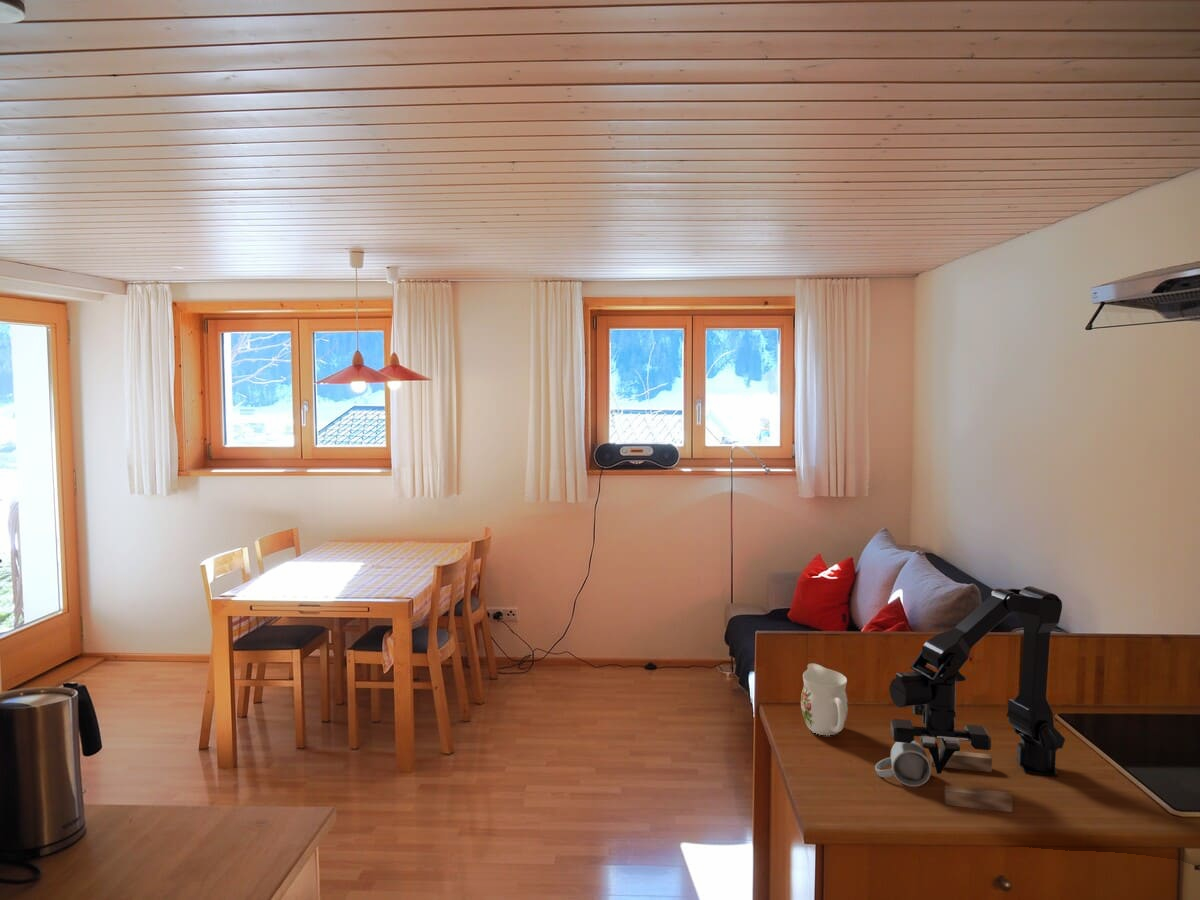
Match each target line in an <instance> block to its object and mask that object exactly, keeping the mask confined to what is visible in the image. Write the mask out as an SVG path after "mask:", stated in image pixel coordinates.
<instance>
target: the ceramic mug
mask: <svg viewBox="0 0 1200 900" xmlns="http://www.w3.org/2000/svg"><path fill="white" fill-rule="evenodd" d="M890 765H891V768H887V769H883V768H886V767H888V766H890ZM874 768H875V771H876V774H877V776H878V777H880V778H889V777H894V778H896V780H897V781H898V782H899V783H900V784H902V785H905V786H908V787H911V788H912V787H913V788H914V787H915V788H917V787H920V786H922V785H924V784H926V783H927V782H928V781H929V779H930V778H931V775H932V774H931V773H932V765H931V762H930V760H929V758H928V756H927V753H926V750H925V748H924V747H923V746H922V744H920V743H918V741H916V740H915V739H914V740H913V741H912V742H911V743H902V742H896V741H895V743H894V744H893V745H892V746H891V749H890V756H889V757H886V758H883V759H881V760H880V761H878V762H877V763H876V764H875V766H874Z"/></svg>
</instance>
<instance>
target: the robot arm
mask: <svg viewBox="0 0 1200 900" xmlns="http://www.w3.org/2000/svg"><path fill="white" fill-rule="evenodd" d="M1062 610H1063V602H1062V599H1060V597H1059V596H1058V595H1056V594H1055V593H1052V592H1049V591H1046V590H1043V589H1040V588H1037V587H1034V586H1030V585H1028V586H1025V587H1023V588H1022V589H1021V588H1020V589H1019V588H1012V587H1011V588H996V589H993V590H992V591H991V593H990V596H989V597H987V598H986V599H985V600H984V601H983V602H982V603H981V604H980V605H978V606H977V607H976V608H975V609H974V610H972V611H971V613H970V614H968V615H967V616H965V618H963V620H962V621H960V622H959V623H958V624H957V625H956V626H954V627H953V628H952V629H950V630H947V631H944V632H941V633H940V632H939V633H937V634H935V636H933V637H931V638H930V639H928V640H926V641H925V643H924V644H923V646H921V647H922V648H921V651H920V652H919V654H918V655H917V657H915V660H914V661H913V663H912V664H911V665H910V670H912V672H911V671H910V672H902V671H901V672H896V674H895V678H893V679H892V680H891V682H890V684H889V688H888V689H889V694H890V695H889V696H890V698H891V700H892V702H893V704H894V705H895V706H896V707H898V708H907V707H912V714H913V715H915V716H921V721H922V724H923V725H924V726H916V725H915V726H914V725H913V723H912V721H911V719H904V718H893V719H892V720H891V721H890V732H891V735H892V738H893V741H894V742H895V743H896V742H902V743H911V742H912V741H913V740H914V741H915V737H919V740H920V743H921V746H922V747H923V749H928V750H929V753H930V757H931V756H932V759H933V762H934V765H935V766H934V769H935V771H936V774H937V775H938V774H939V775H941V774H942V773H943V770H944V769H945V768H946V767H945V765H946V763H947V762H948V760H949V759H950V757H951V756H952V755H953V754H954V752H955V751H961V746H960V744H959V743H960V741H965V742H967V741H968V742H970V743H969V744H970V746H971V747H973V749H975V750H981V751H990V750H992V739H991V736H990V735H989V732H988V731H987V729H986V728H985V727H984V726H983V725H974V724H973V725H972V724H965V725H964V728H963V730H962V729H961V730H960V729H955V728H956V693H957V692H956V691H957V689H956V688H957V682H965V681H966V677H965V676H964V675H963V674H962V673H961V672H960V670H961V668H962V667H963V666H964V665H965V663H966V662H967V661H968V660H969V656H970V653H971V650H972V648H973V647H974V646H975V645H976V644H977V643H979V642H980V641H981V640H982V639H983V638H984V637H985V636H986V635H987V634H989V632H991V631H992V630H993V629H994V628H995V627H996V626H997V625H999V624H1000V623H1001V622H1002V621H1003V620H1004V619H1006V617H1008V616H1009V615H1010V614H1011V613H1012V612H1017V616H1018V619H1019V621H1020V623H1021V625H1022V628H1023V636H1022V639H1023V640H1022V653H1021V671H1020V682H1019V683H1020V688H1019V693H1018V694H1017V695H1016V697H1014V699H1011V698H1010V699H1008V701H1007V708H1008V709H1007V713H1006V715H1005V716H1006V717H1007V718H1008V722H1009V724H1010V725H1011V726H1012V728H1013V731H1014V734H1016V735H1019V736H1020V739H1019V740H1020V741H1019V742H1017V746H1016V747H1017V749H1016V762H1017V763H1018V764H1019V767H1021V769H1022V770H1023V772H1024V773H1025V774H1032V775H1034V774H1035V775H1044V776H1053V777H1058V775H1059V773H1058V771H1057V770H1056V759H1057V757H1056V756H1057V755H1056V754H1057V753H1056V752H1057V751H1058V749H1063V747H1064V743H1065V741H1066V738H1065V737H1064V736H1063V735H1062V734H1061V733H1060V732H1059V731H1058V730H1057V729H1056V727H1055V724H1054V723H1055V722H1054V721H1055V720H1054V712H1053V710H1052V708H1051V706H1050V704H1049V701H1048V699H1047V688H1048V687H1047V686H1048V673H1049V658H1050V643H1051V642H1050V641H1051V633H1052V632H1053V631H1054V629H1055V628H1056V627H1057V626H1058V625H1059V623H1060V619H1061V615H1062ZM927 665H928V666H930V667H932V668H934V669H935V670H937V671H935V670H932V669H931V668H929V667H927ZM937 739H939V744H938V742H937ZM938 745H940V746H938ZM939 749H940V751H939Z"/></svg>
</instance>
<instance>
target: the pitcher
mask: <svg viewBox="0 0 1200 900" xmlns="http://www.w3.org/2000/svg"><path fill="white" fill-rule="evenodd" d="M802 680H803V688H802V691H801V695H800V708H801V709H800V710H801V714H802V717H803V719H804V722H805V724H806V726H807V728H808V729H809V731H810V730H811V731H812V732H811V731H810V732H811V733H813V734H814V733H816V734H815V735H817V734H819V735H818V736H820V735H826V736H825V737H831V736H830V735H834V736H836V735H838V733H840V732H841V731H842V730H843V729H844V727H845V722H846V719H847V717H848V710H849V698H848V695H847V692H846V687H847V683H848V678H847V677H846V676H845V675H844V674H843V673H841V672H839V671H836V670H833V669H830V668H826V667H824V666H823V665H820V664H817V663H808V664H807V669H806V670H805V671H803V673H802ZM835 734H836V735H835ZM827 735H828V736H827Z"/></svg>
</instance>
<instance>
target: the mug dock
mask: <svg viewBox="0 0 1200 900" xmlns="http://www.w3.org/2000/svg"><path fill="white" fill-rule="evenodd" d="M938 749H939V751H940V748H938ZM929 762H930V765H931V767H935V765H934V762H933V759H932V756H931V755H930V760H929ZM992 767H993V758H992V755H991V754H990V753H982V752H981V753H980V752H971V751H961V750H960V751H955V752H954V754H953V755H952V756H951V757H950V759H949V760H948V762H947V763H946V765H945V767H944V768H950V769H959V770H966V771H967V770H968V771H970V770H971V771H979V772H986V773H987V772H989V773H992V769H993V768H992ZM943 798H944V799H943V800H944V802H945V805H946V806H954V807H962V808H971V809H980V810H989V811H990V810H991V811H998V812H1005V813H1006V812H1007V813H1013V803H1014V802H1013V800H1014V797H1013V795H1012V794H1011V792H1010V791H1002V790H1001V791H999V790H991V789H984V788H983V789H980V788H972V787H963V786H955V785H954V786H953V785H944V797H943Z"/></svg>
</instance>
